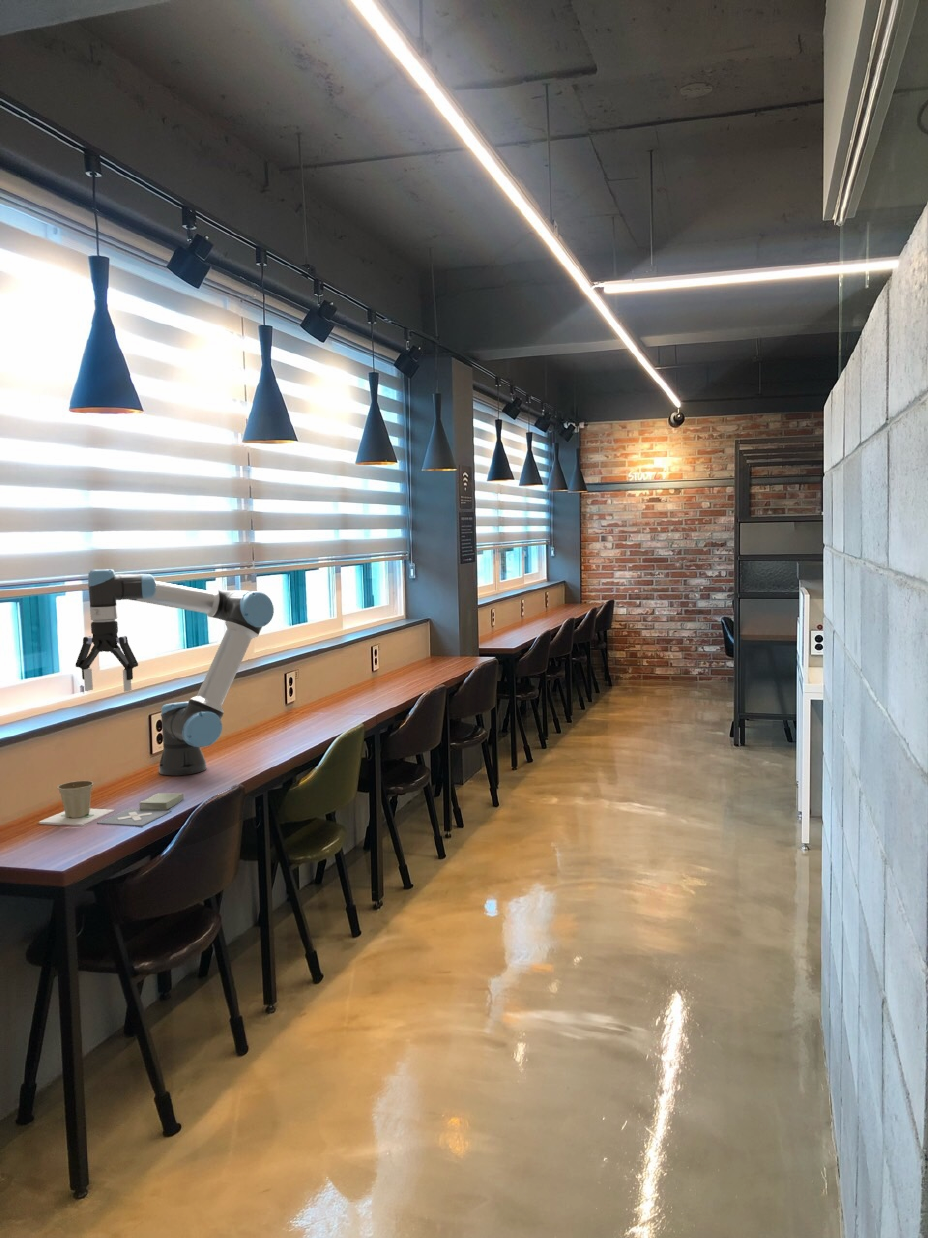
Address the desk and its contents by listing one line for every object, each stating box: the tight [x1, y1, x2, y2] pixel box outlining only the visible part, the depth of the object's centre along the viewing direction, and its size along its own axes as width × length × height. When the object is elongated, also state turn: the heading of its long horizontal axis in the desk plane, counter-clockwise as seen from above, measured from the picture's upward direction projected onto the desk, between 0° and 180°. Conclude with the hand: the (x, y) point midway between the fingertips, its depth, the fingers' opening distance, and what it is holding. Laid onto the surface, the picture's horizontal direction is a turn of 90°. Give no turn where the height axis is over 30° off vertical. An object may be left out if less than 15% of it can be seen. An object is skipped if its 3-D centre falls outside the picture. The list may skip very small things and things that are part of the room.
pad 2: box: [96, 807, 173, 828], centre depth 262 cm, size 14×14×1 cm
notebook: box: [138, 792, 184, 810], centre depth 274 cm, size 12×8×2 cm, turn 175°
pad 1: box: [38, 808, 116, 827], centre depth 264 cm, size 14×14×1 cm
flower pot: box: [56, 780, 94, 818], centre depth 264 cm, size 9×9×9 cm
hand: (108, 690), depth 287 cm, fingers open, 13 cm apart
